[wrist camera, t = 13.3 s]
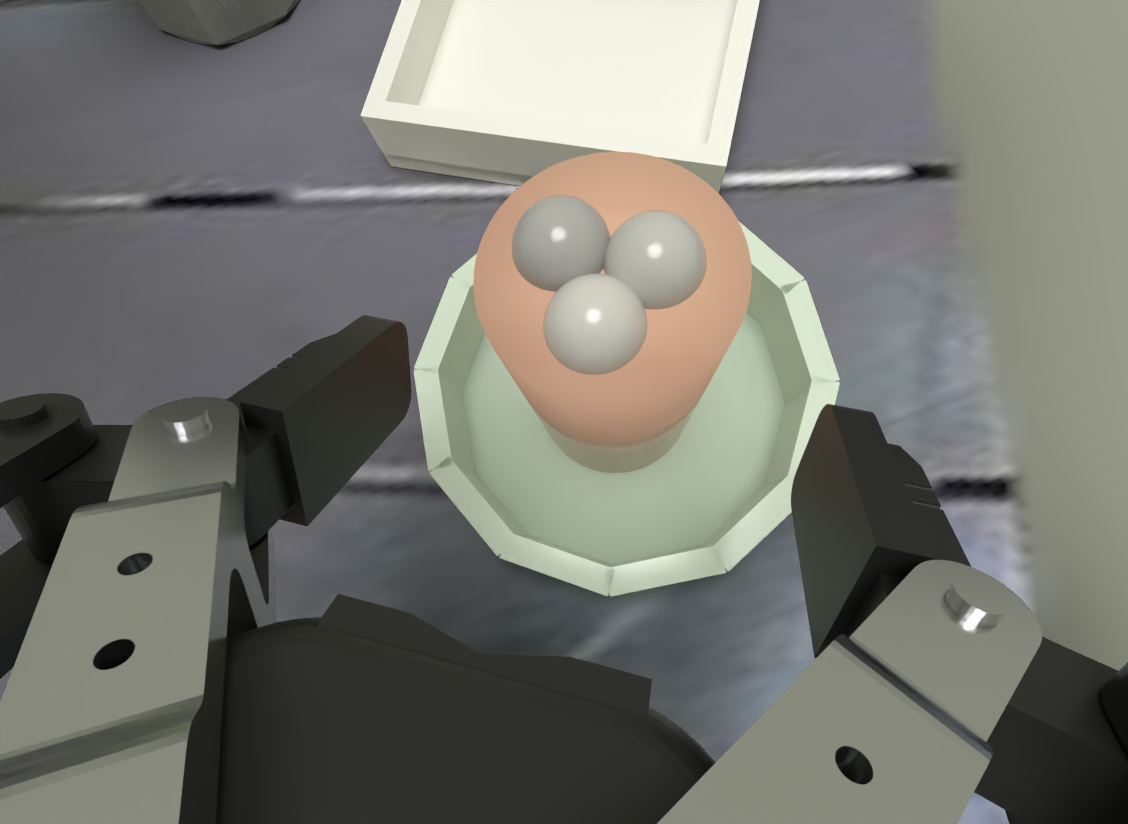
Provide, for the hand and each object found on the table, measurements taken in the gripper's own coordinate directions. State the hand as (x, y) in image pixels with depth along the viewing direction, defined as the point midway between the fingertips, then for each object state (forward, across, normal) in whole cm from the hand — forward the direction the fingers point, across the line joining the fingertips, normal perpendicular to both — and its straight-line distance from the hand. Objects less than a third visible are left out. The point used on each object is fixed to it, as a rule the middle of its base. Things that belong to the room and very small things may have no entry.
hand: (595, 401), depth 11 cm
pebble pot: (+8, 0, +5) cm, 10 cm away
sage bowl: (+9, 0, +5) cm, 10 cm away
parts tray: (+20, +5, -6) cm, 21 cm away
